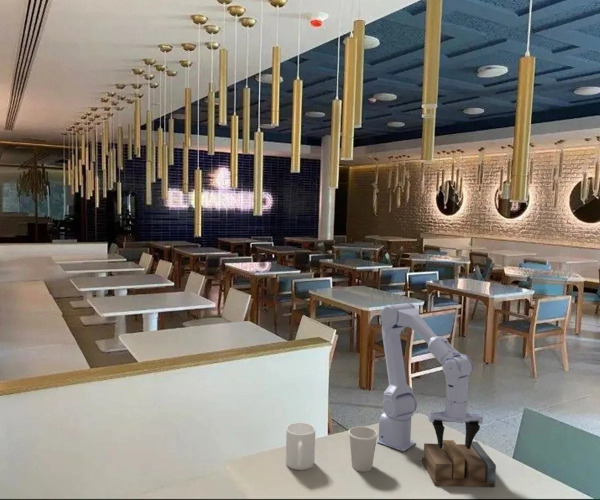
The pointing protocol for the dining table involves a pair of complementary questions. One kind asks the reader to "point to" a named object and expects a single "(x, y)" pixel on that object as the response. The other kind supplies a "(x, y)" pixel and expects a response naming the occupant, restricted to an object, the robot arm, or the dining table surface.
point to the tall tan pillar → (455, 458)
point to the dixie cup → (362, 447)
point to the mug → (300, 446)
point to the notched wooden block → (475, 471)
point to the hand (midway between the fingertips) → (453, 447)
